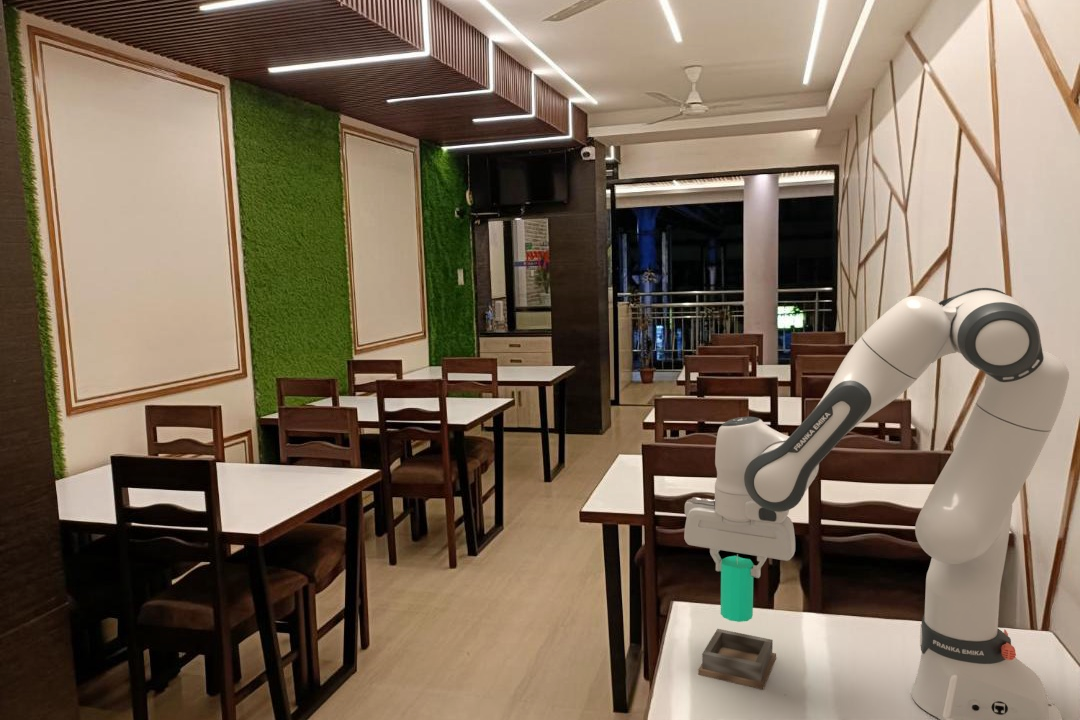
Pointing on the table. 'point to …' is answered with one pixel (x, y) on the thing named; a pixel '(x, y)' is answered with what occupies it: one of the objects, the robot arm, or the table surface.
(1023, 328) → the robot arm
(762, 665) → the holder
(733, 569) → the candle
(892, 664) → the table surface
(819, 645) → the table surface
